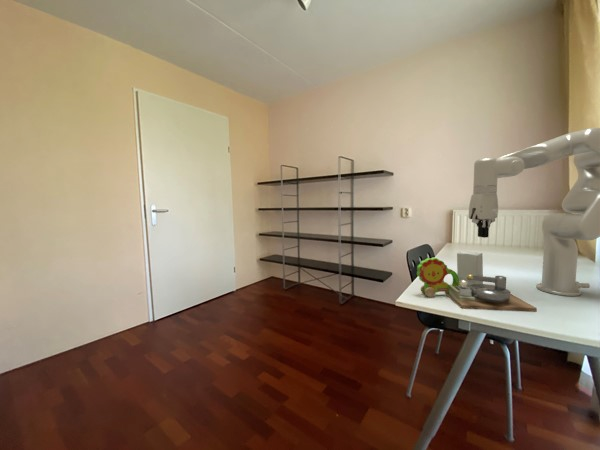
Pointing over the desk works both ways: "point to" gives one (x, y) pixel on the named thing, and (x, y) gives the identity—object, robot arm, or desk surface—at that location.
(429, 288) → the toy lion
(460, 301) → the stand
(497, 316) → the desk surface
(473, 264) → the skincare box
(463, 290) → the block with glass ball
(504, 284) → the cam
